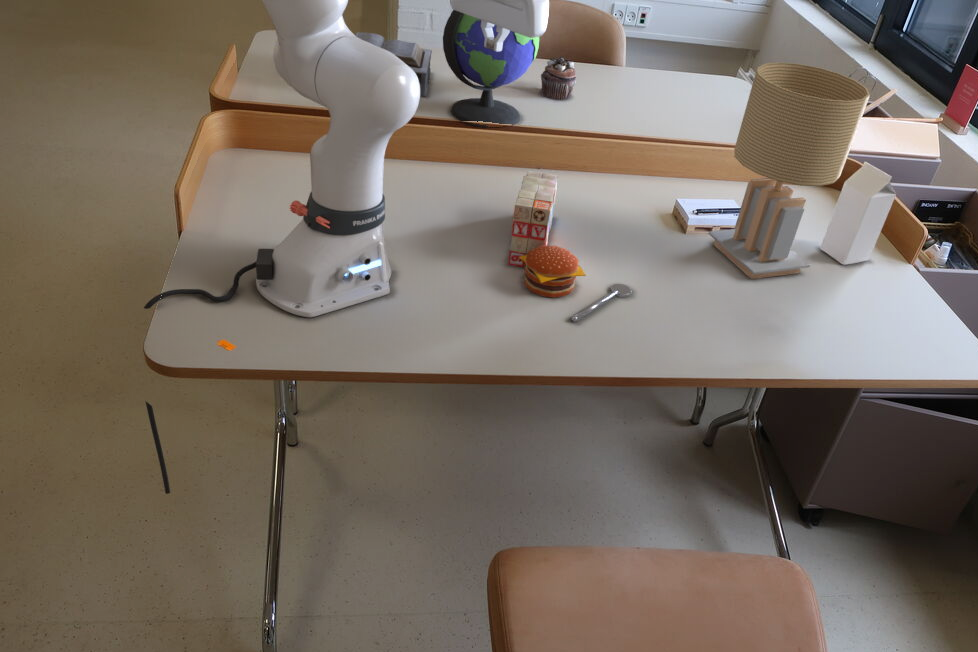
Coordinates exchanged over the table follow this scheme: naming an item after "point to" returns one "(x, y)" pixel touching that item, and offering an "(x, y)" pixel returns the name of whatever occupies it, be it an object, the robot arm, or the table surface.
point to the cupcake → (558, 79)
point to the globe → (485, 67)
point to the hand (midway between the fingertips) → (493, 49)
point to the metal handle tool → (605, 300)
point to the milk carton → (859, 215)
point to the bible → (405, 56)
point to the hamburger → (551, 271)
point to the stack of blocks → (532, 215)
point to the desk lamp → (788, 159)
